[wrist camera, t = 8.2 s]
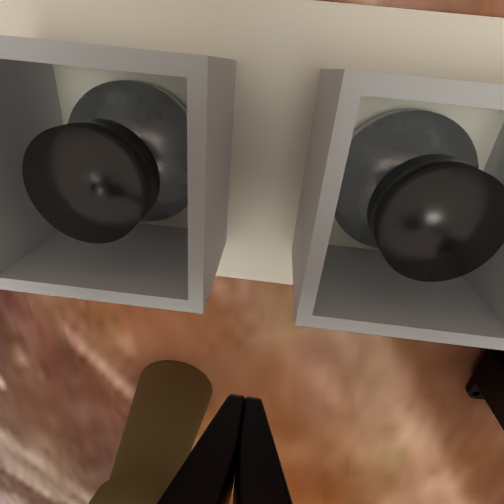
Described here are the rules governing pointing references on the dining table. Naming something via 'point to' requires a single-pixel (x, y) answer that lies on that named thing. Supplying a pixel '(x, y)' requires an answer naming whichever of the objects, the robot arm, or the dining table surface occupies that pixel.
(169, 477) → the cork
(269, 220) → the board
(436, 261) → the plunger
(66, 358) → the dining table surface
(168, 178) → the plunger
